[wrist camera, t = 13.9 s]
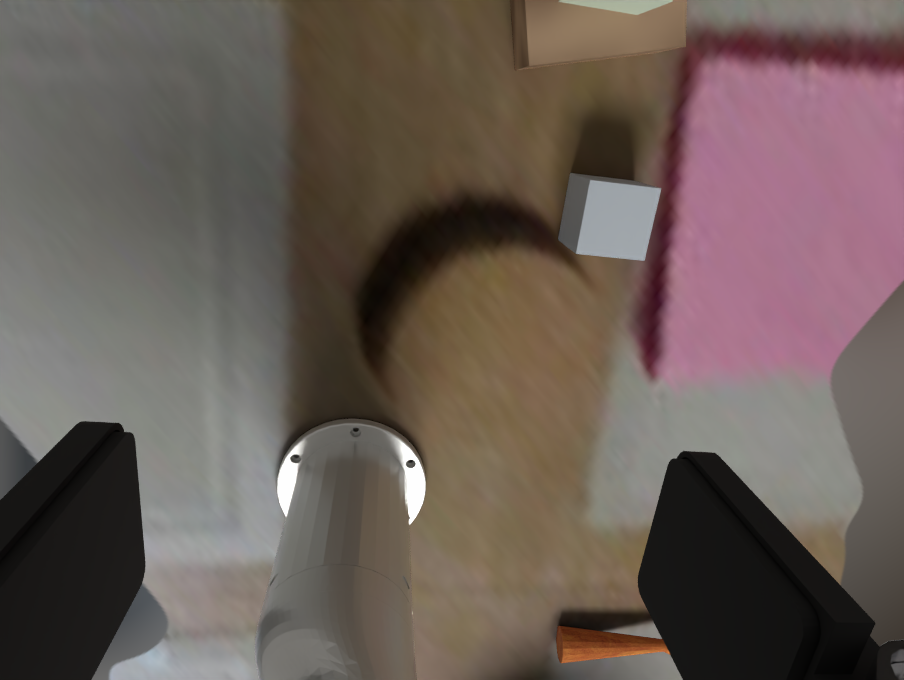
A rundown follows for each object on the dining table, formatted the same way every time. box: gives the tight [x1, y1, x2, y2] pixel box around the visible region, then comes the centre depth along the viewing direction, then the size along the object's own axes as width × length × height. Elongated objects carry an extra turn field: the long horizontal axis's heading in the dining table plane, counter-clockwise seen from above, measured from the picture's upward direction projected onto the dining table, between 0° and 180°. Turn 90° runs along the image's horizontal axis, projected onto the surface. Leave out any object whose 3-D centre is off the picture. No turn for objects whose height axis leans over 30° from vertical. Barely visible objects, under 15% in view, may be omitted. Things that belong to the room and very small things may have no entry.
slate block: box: [558, 173, 661, 261], centre depth 44 cm, size 5×5×5 cm
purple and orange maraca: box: [556, 626, 670, 663], centre depth 60 cm, size 6×6×20 cm
